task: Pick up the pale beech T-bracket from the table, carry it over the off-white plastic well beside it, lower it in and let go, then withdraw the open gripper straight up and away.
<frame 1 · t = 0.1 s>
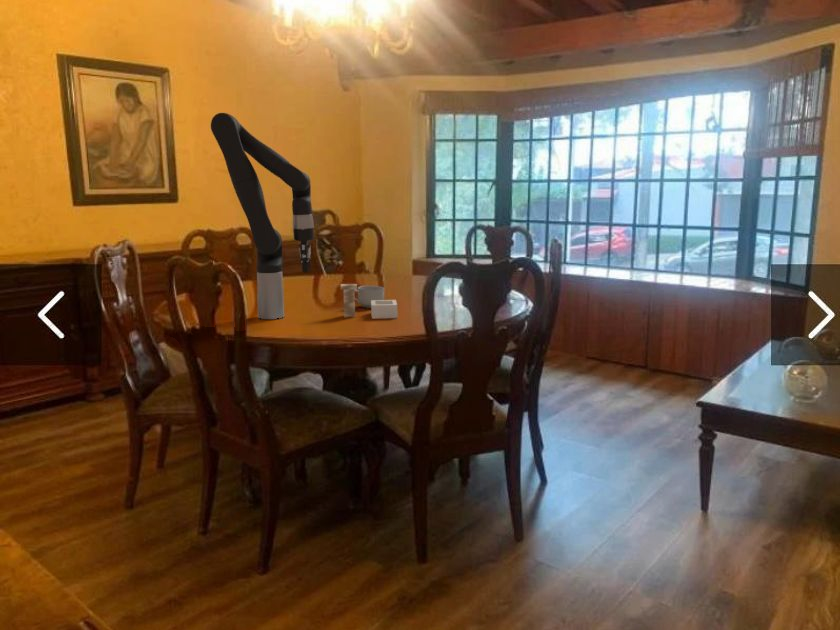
hand: (306, 271, 249), 17 cm above the table, tool pointing down, fingers open, 8 cm apart
bracket: (349, 316, 253), on the table
well: (384, 315, 254), on the table
teacup: (367, 307, 272), on the table
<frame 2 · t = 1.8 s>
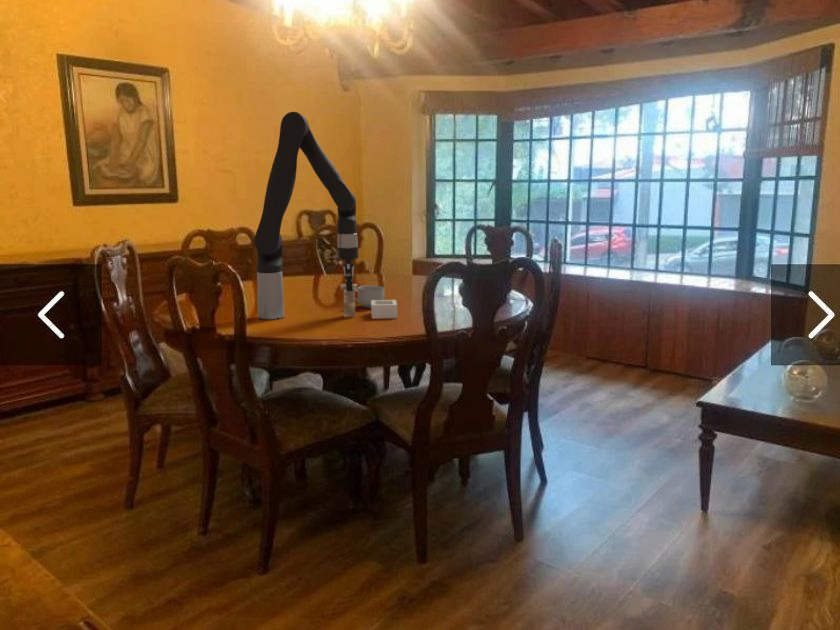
hand: (349, 289, 251), 10 cm above the table, tool pointing down, fingers open, 8 cm apart
nothing on the table moved.
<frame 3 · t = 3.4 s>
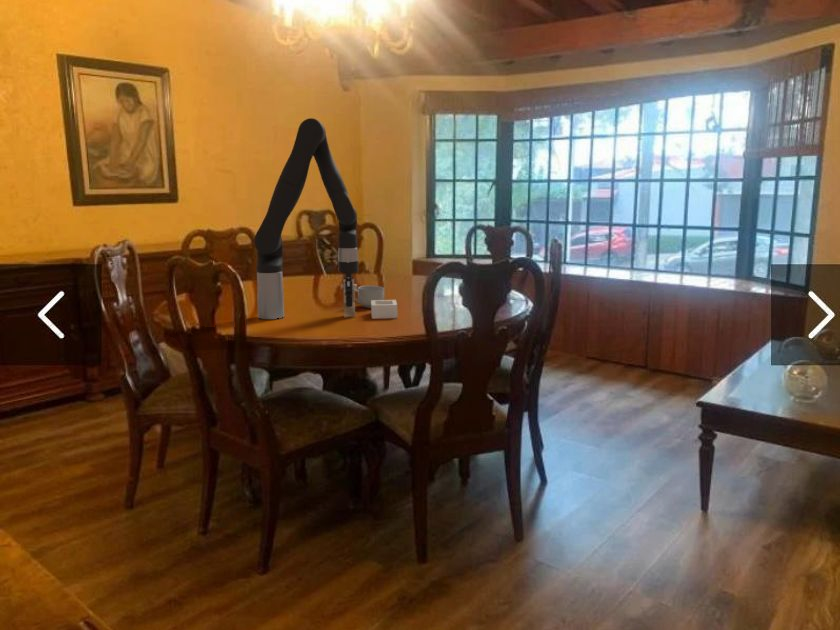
hand: (349, 305, 252), 4 cm above the table, tool pointing down, fingers closed on bracket, 4 cm apart
bracket: (349, 316, 253), on the table, touching gripper
everything else where it was.
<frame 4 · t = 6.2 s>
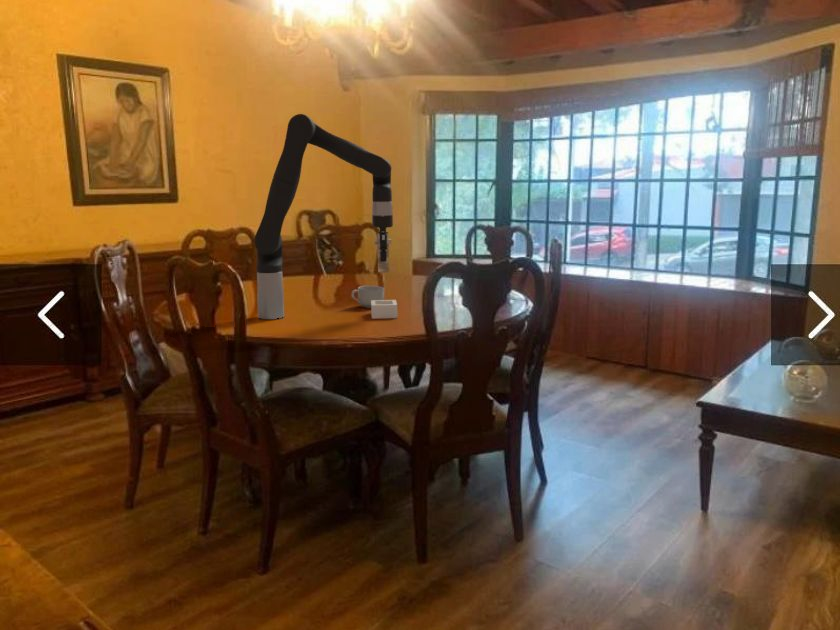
hand: (383, 260, 250), 21 cm above the table, tool pointing down, fingers closed on bracket, 4 cm apart
bracket: (383, 271, 251), point 17 cm above the table, touching gripper
everything else where it was.
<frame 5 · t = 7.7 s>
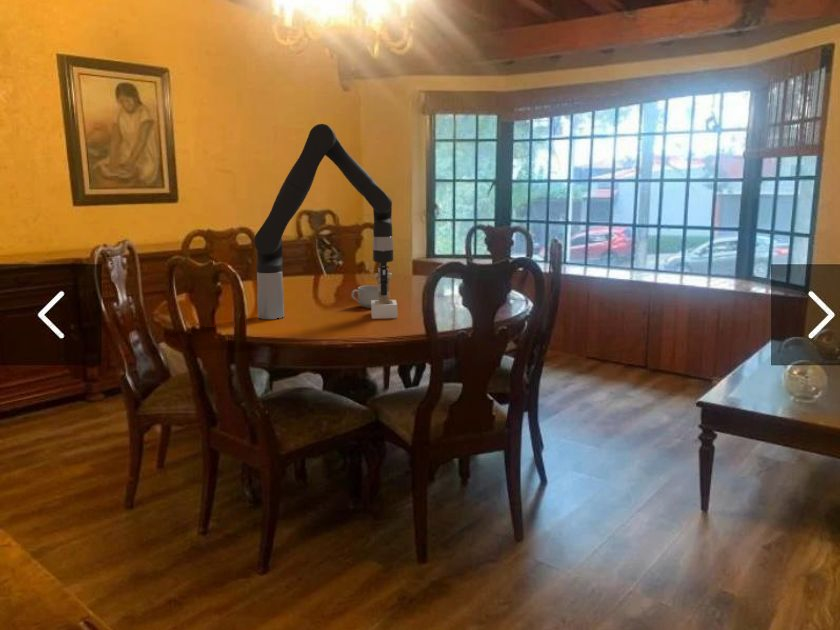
hand: (383, 294, 252), 8 cm above the table, tool pointing down, fingers closed on bracket, 4 cm apart
bracket: (384, 305, 253), point 4 cm above the table, touching gripper
everything else where it was.
when the fingers open (5 cm above the table, at t = 9.1 s): bracket stays where it is, resting in well.
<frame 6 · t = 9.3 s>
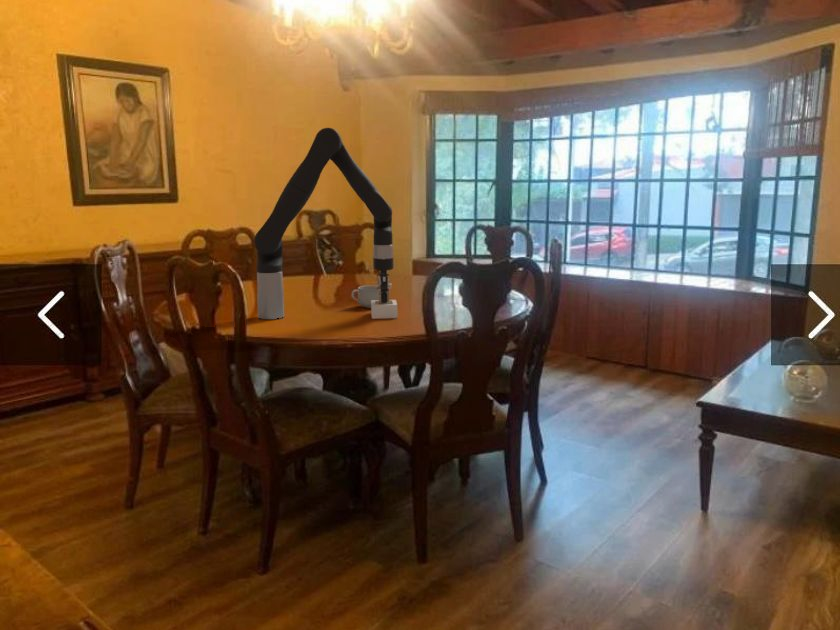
hand: (383, 301, 253), 6 cm above the table, tool pointing down, fingers open, 6 cm apart
bracket: (384, 315, 254), resting in well
everything else where it was.
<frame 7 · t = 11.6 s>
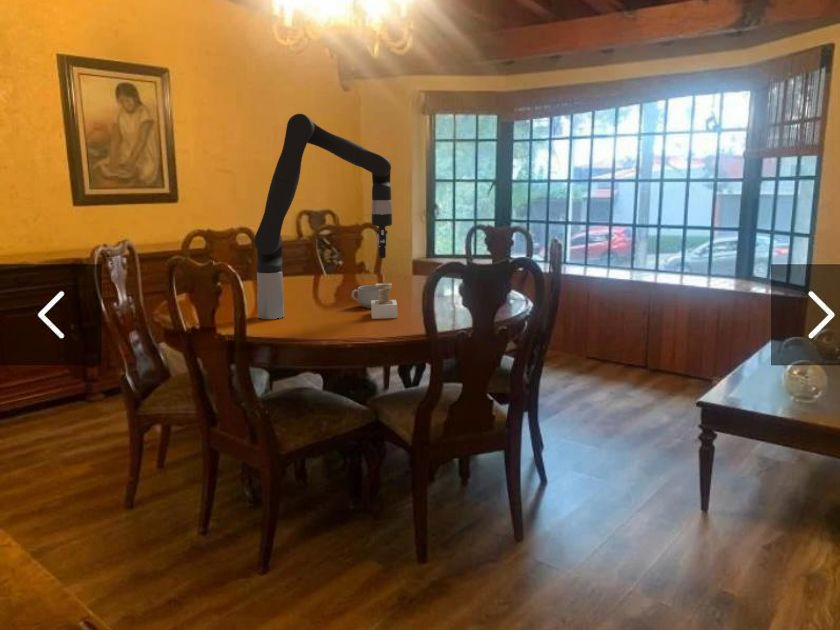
hand: (382, 256, 250), 22 cm above the table, tool pointing down, fingers open, 8 cm apart
nothing on the table moved.
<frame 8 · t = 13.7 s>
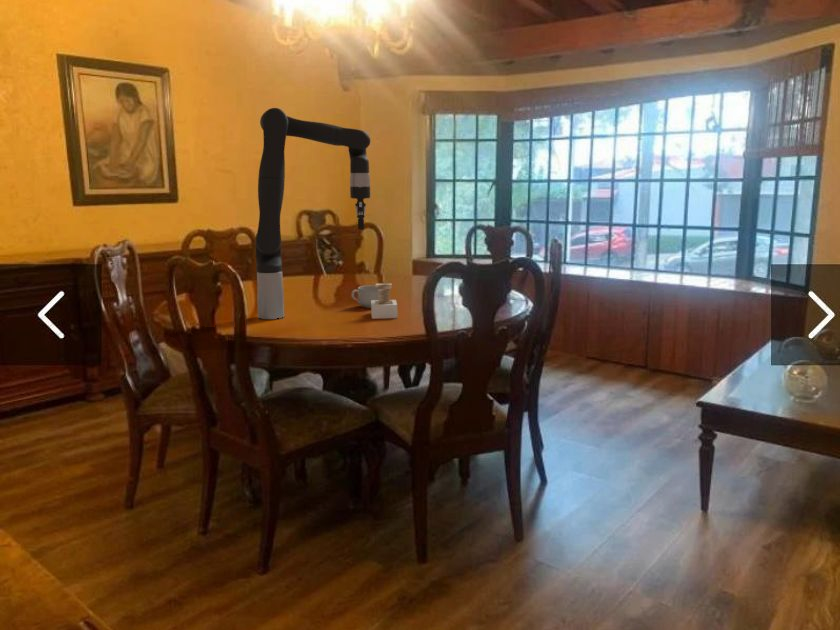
hand: (361, 228, 256), 32 cm above the table, tool pointing down, fingers open, 8 cm apart
nothing on the table moved.
at the end: bracket 0.0 cm off-centre on the well, point 0.0 cm above the well's base; bracket tilted 0°; the gripper is holding nothing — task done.
